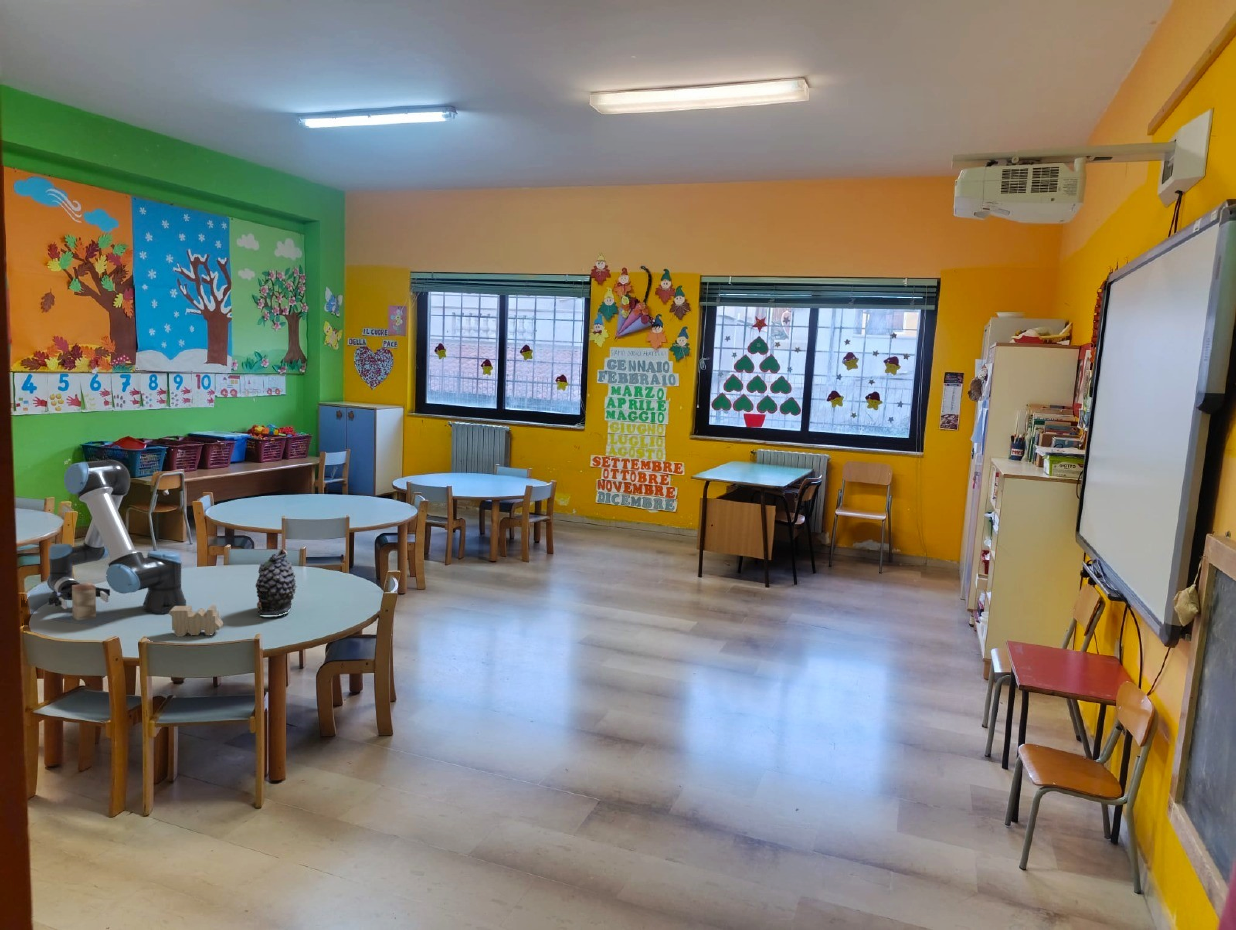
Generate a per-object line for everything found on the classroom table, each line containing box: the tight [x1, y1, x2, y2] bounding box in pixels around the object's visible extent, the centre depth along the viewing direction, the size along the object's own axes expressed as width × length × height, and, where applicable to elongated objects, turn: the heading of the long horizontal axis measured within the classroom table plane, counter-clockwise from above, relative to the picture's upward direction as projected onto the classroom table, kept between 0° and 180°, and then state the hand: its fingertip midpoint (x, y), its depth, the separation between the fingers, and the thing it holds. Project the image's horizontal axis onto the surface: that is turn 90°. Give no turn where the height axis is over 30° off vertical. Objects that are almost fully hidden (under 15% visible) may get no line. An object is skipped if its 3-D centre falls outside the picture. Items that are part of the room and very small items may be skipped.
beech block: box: [71, 582, 97, 620], centre depth 305 cm, size 6×6×12 cm
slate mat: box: [50, 610, 127, 627], centre depth 306 cm, size 20×14×1 cm
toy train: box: [168, 604, 224, 637], centre depth 297 cm, size 6×17×10 cm, turn 103°
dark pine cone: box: [255, 548, 297, 615], centre depth 325 cm, size 21×15×25 cm
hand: (86, 601), depth 303 cm, fingers open, 13 cm apart
